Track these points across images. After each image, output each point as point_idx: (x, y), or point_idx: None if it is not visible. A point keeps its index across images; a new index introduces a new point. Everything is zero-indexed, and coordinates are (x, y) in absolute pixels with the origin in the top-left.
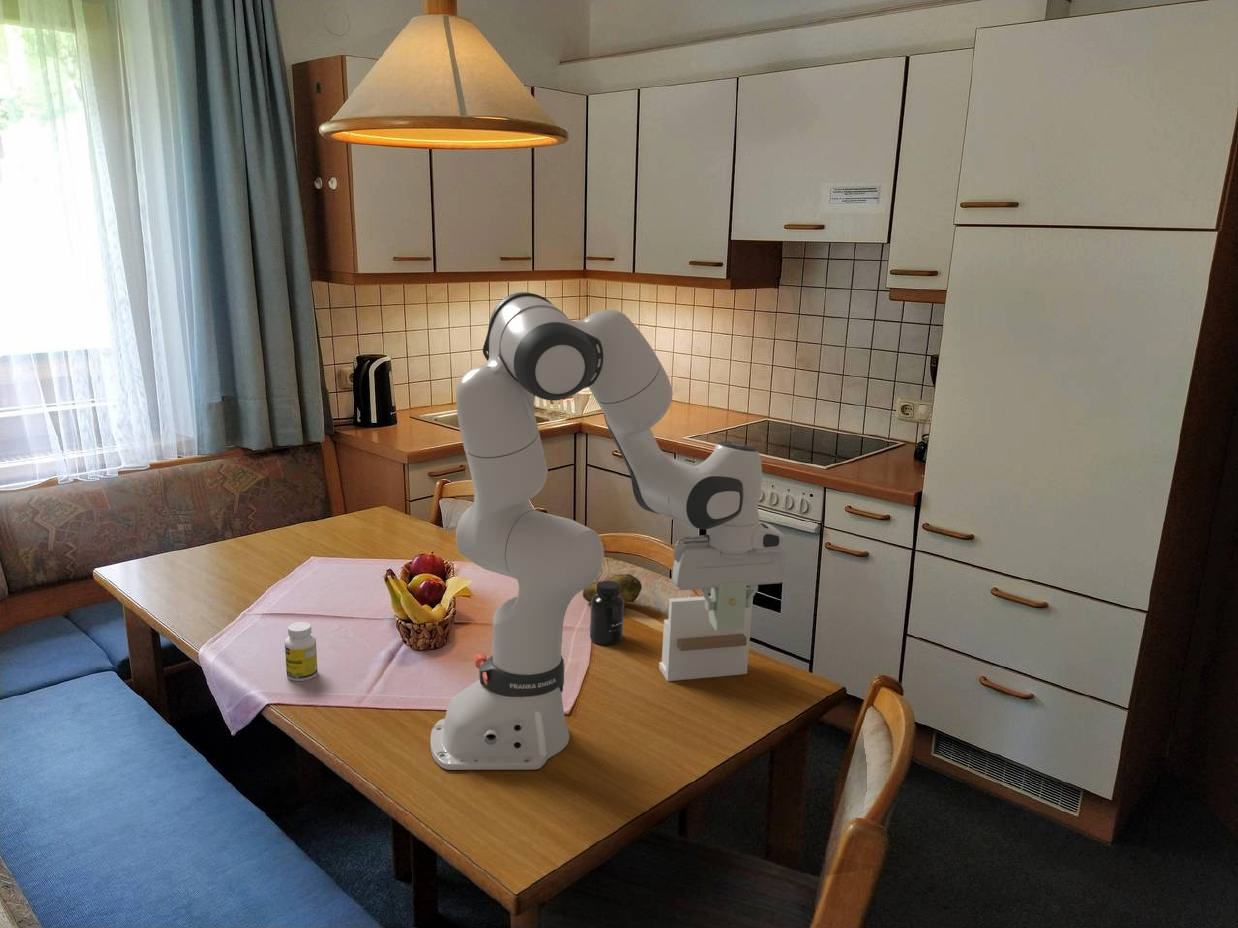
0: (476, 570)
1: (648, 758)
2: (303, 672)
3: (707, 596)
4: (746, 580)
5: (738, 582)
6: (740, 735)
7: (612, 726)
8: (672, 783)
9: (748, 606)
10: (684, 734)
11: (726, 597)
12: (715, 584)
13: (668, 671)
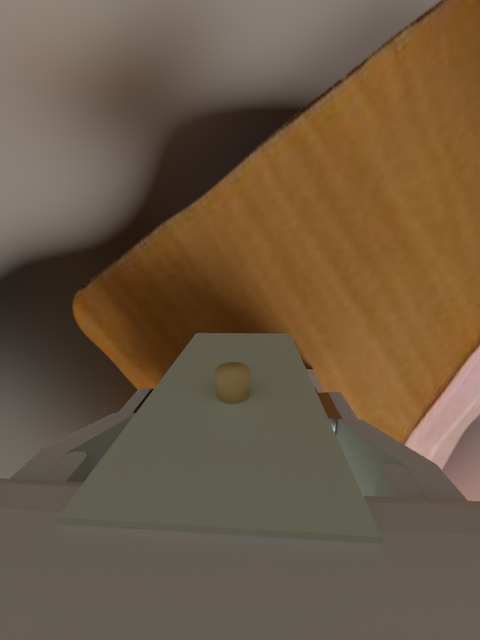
0: None
1: (452, 129)
2: None
3: (390, 444)
4: (54, 535)
5: (153, 518)
6: (259, 186)
7: (463, 250)
8: (451, 23)
9: (147, 388)
10: (353, 204)
11: (270, 412)
12: (422, 531)
13: (317, 377)
